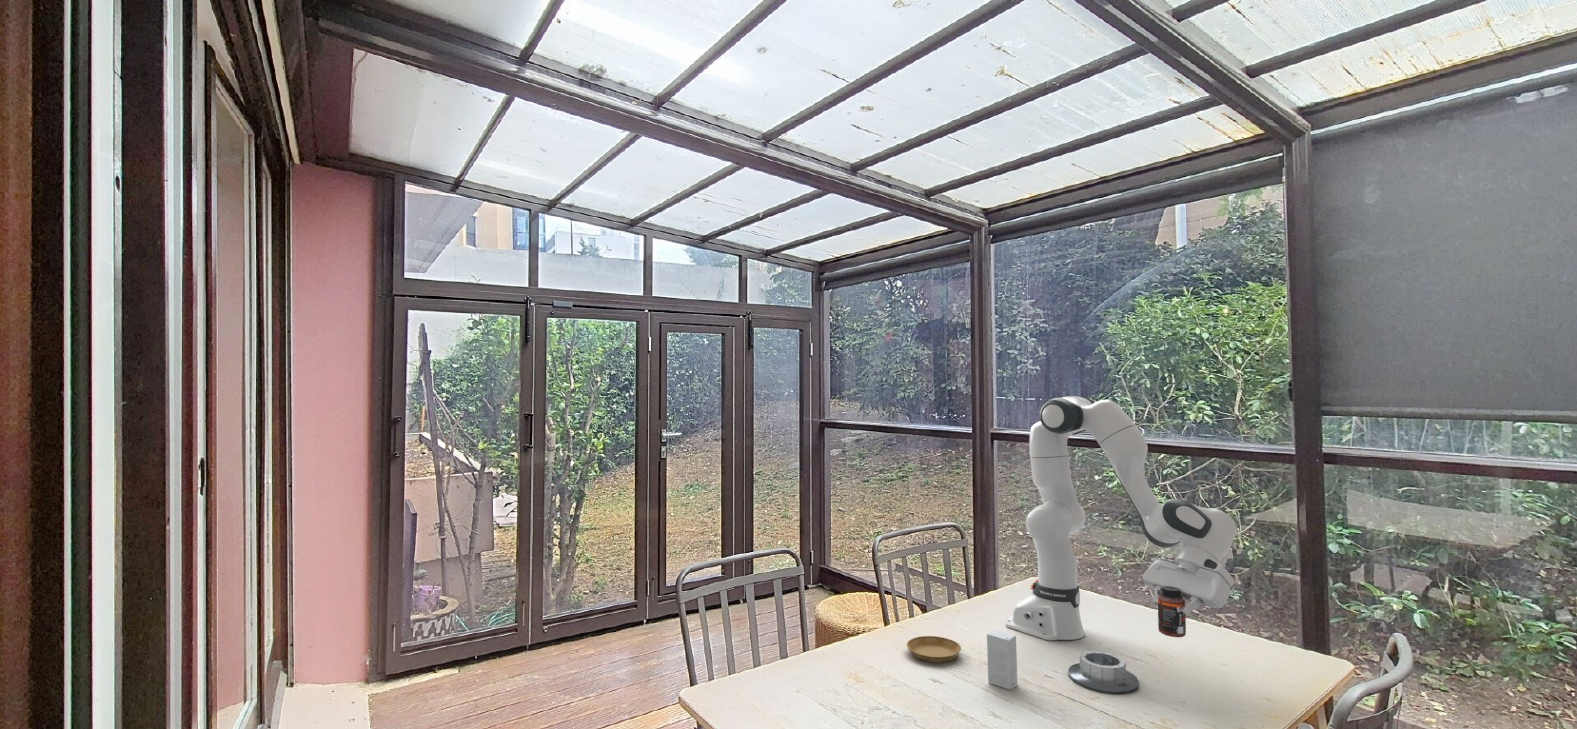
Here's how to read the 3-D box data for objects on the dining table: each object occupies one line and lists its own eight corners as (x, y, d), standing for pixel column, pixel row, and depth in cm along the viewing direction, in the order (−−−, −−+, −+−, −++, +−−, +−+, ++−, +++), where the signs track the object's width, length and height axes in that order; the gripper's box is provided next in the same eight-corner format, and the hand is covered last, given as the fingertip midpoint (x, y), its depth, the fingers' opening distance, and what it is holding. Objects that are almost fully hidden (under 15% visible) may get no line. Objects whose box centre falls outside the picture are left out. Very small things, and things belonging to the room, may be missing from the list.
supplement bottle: (1189, 639, 159) (1188, 592, 159) (1162, 637, 160) (1160, 590, 161) (1182, 631, 164) (1180, 585, 165) (1155, 628, 166) (1154, 583, 167)
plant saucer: (940, 671, 170) (940, 661, 170) (896, 654, 181) (895, 645, 181) (971, 656, 180) (971, 646, 180) (928, 641, 191) (928, 632, 191)
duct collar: (1059, 680, 163) (1058, 660, 164) (1080, 661, 175) (1079, 642, 175) (1128, 700, 153) (1128, 679, 153) (1146, 678, 165) (1145, 658, 165)
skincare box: (1017, 684, 161) (1017, 635, 162) (1010, 690, 158) (1009, 640, 159) (994, 677, 165) (993, 629, 166) (987, 683, 162) (986, 634, 163)
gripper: (1152, 548, 175) (1127, 589, 171) (1228, 567, 156) (1202, 613, 152) (1164, 563, 177) (1139, 604, 173) (1241, 583, 158) (1215, 630, 154)
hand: (1169, 608), depth 162 cm, fingers closed on supplement bottle, 6 cm apart
